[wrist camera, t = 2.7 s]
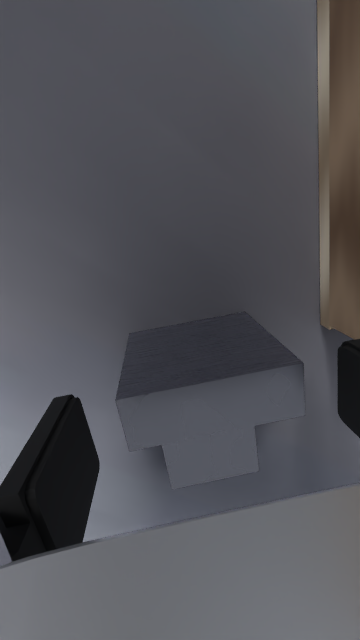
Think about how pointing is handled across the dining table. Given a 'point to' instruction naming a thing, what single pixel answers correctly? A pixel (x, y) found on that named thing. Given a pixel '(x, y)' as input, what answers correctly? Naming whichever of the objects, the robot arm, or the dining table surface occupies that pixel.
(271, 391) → the gray t-shaped block
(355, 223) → the corner arena
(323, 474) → the dining table surface
